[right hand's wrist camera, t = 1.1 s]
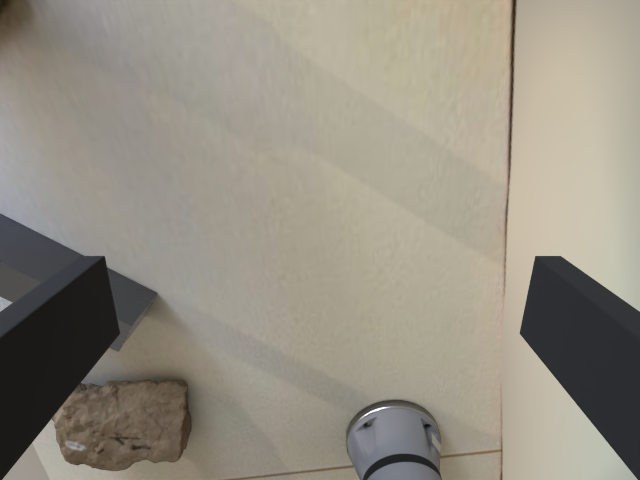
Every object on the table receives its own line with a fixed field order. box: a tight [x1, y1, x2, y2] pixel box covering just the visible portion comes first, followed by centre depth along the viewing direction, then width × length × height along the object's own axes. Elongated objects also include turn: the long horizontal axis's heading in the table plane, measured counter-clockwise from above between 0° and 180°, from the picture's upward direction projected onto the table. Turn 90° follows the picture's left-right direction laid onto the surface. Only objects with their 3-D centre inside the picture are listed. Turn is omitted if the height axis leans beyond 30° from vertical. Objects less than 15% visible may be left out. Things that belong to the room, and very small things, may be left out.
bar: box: [0, 214, 157, 351], centre depth 52 cm, size 26×4×9 cm, turn 58°
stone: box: [52, 380, 191, 471], centre depth 63 cm, size 21×15×6 cm
